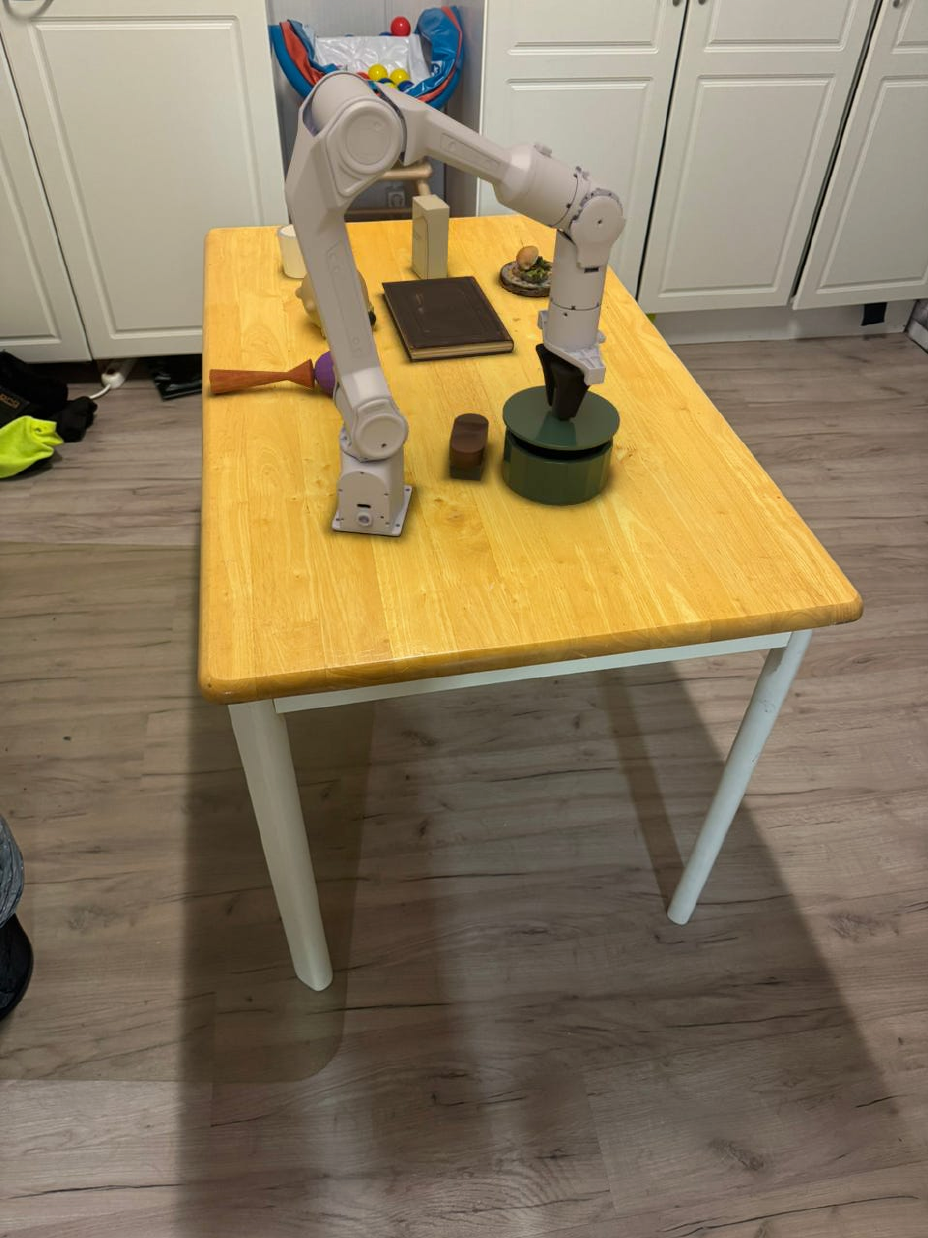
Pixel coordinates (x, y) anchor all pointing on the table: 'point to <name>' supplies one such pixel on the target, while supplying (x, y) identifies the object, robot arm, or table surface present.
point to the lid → (560, 420)
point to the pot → (555, 471)
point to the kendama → (277, 376)
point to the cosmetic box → (430, 237)
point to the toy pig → (311, 308)
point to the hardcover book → (445, 319)
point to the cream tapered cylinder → (291, 252)
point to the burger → (527, 273)
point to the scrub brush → (468, 446)
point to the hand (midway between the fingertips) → (561, 410)
